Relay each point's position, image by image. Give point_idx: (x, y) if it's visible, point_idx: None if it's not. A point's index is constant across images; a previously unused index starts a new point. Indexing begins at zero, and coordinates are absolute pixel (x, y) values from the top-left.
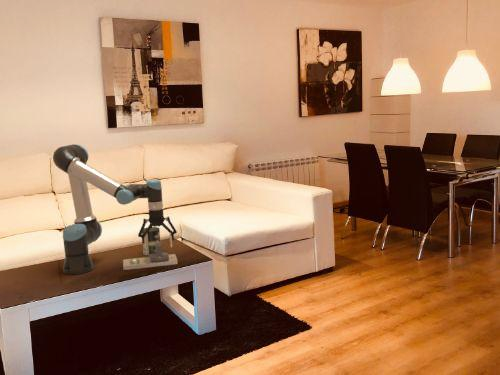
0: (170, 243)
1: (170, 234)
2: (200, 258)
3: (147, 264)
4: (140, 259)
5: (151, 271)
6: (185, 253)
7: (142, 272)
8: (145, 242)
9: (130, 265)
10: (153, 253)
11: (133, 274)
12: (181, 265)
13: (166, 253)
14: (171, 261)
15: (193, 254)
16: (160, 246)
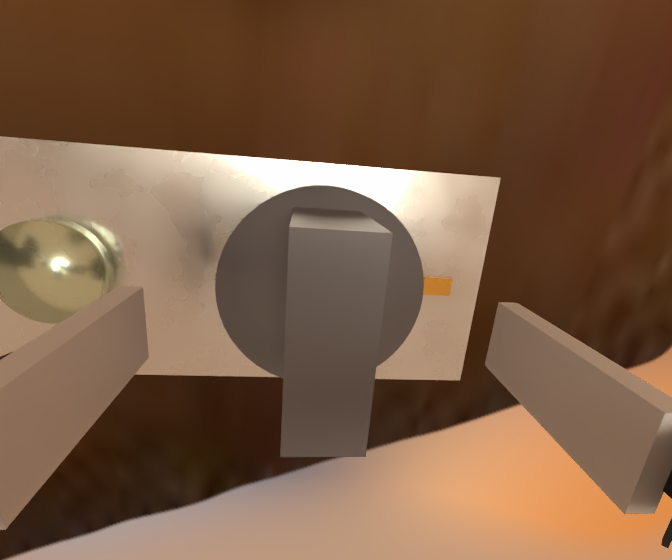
0: (516, 349)
1: (667, 444)
2: (647, 295)
3: (199, 371)
4: (120, 213)
5: (233, 452)
6: (610, 75)
7: (164, 452)
8: (72, 436)
9: None
10: (264, 202)
11: (95, 471)
12: (463, 402)
13: (407, 268)
14: (409, 377)
15: (655, 151)
16: (346, 451)
